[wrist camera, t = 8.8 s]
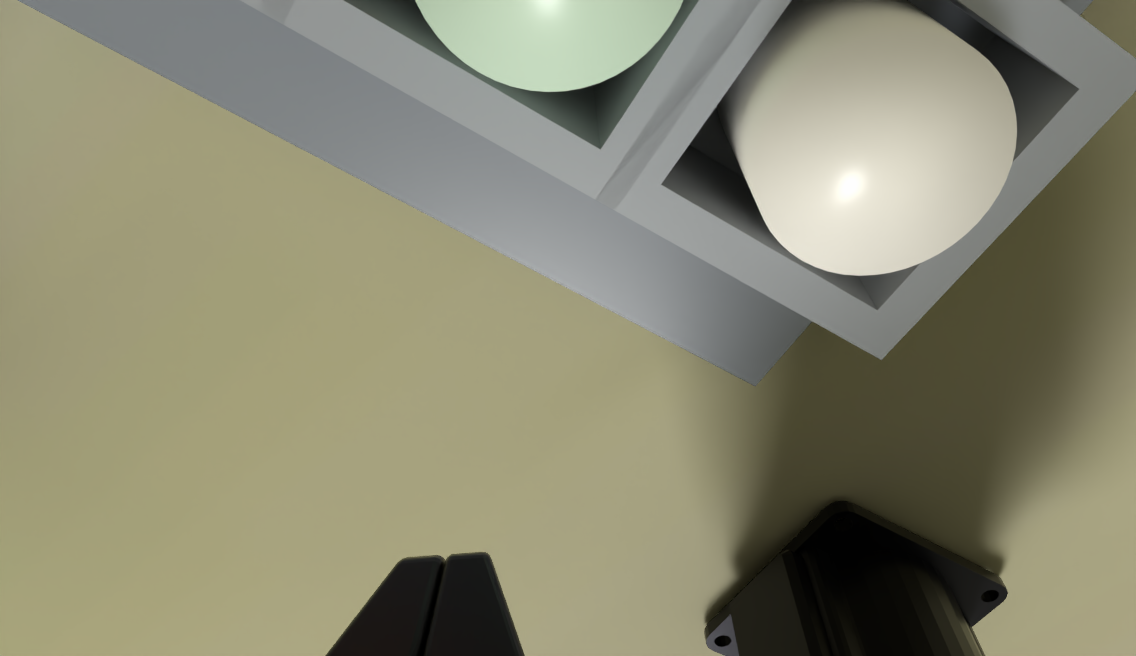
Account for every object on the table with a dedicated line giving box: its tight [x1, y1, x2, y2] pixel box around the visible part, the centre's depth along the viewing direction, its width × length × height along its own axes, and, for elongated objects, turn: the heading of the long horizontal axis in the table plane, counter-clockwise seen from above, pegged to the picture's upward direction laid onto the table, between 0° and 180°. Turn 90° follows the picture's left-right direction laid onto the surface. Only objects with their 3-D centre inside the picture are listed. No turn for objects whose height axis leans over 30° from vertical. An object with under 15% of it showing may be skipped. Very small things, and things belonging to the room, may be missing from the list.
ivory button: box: [717, 0, 1017, 276], centre depth 16 cm, size 4×4×4 cm
